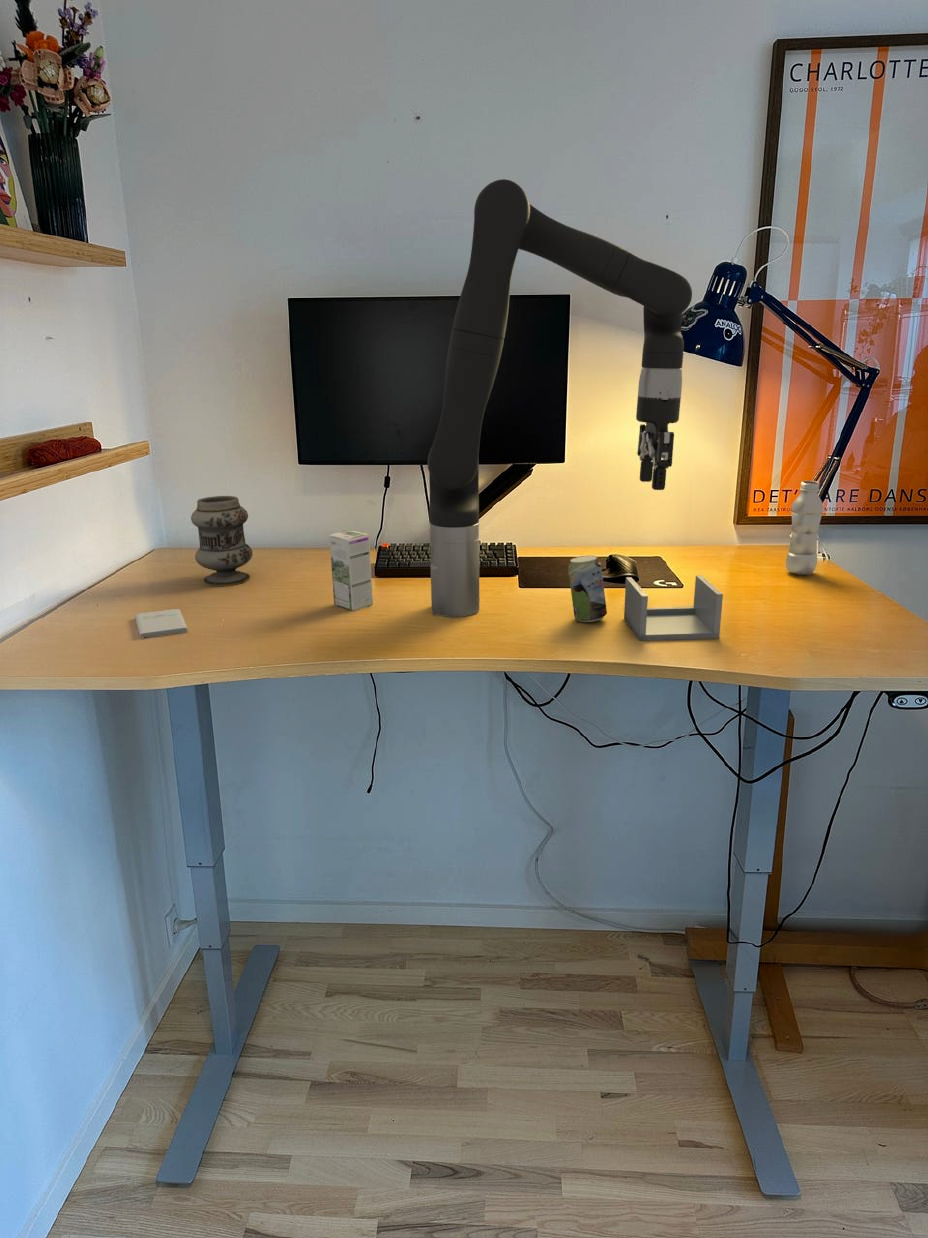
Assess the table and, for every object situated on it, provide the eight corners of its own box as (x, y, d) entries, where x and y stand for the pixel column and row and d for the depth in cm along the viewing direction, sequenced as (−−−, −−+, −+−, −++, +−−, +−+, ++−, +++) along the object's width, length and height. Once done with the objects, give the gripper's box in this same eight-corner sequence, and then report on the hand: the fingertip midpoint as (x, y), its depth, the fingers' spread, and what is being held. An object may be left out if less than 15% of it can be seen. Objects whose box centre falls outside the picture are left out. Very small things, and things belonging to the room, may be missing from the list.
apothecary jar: (224, 570, 199) (215, 491, 193) (266, 576, 193) (259, 495, 188) (185, 584, 188) (176, 501, 183) (229, 590, 183) (220, 505, 177)
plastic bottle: (818, 572, 191) (829, 481, 185) (812, 579, 186) (823, 485, 179) (788, 568, 195) (798, 478, 188) (780, 575, 189) (790, 483, 183)
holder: (639, 640, 151) (642, 596, 149) (623, 618, 162) (625, 577, 160) (719, 638, 152) (723, 594, 149) (698, 616, 163) (701, 575, 161)
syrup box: (374, 604, 173) (370, 532, 168) (351, 611, 168) (347, 538, 164) (355, 599, 176) (351, 528, 172) (332, 605, 172) (328, 533, 168)
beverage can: (605, 626, 158) (608, 562, 155) (565, 624, 160) (566, 560, 156) (607, 615, 164) (610, 553, 161) (568, 613, 166) (570, 552, 162)
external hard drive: (140, 642, 155) (135, 621, 166) (188, 635, 158) (180, 615, 169) (139, 633, 155) (134, 613, 166) (187, 627, 158) (179, 607, 169)
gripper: (628, 391, 161) (622, 479, 167) (649, 397, 148) (641, 492, 153) (668, 391, 162) (660, 479, 167) (692, 397, 148) (683, 492, 154)
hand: (651, 485), depth 160 cm, fingers open, 8 cm apart
